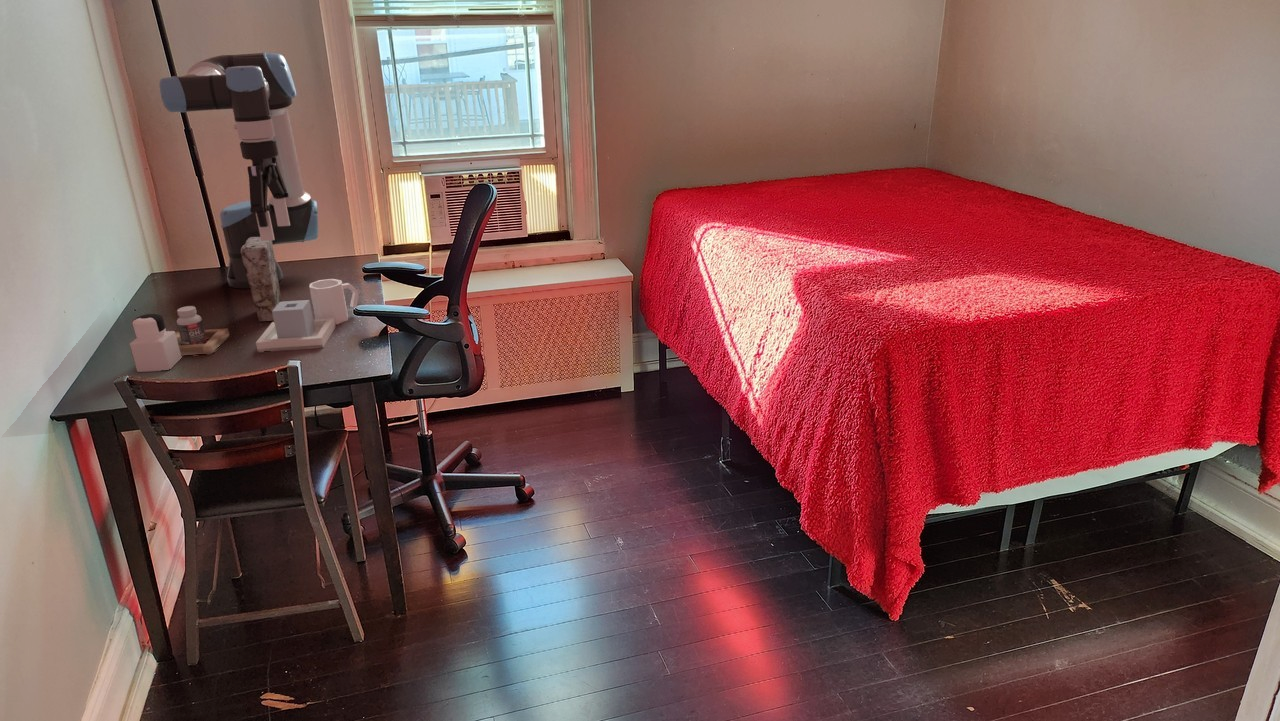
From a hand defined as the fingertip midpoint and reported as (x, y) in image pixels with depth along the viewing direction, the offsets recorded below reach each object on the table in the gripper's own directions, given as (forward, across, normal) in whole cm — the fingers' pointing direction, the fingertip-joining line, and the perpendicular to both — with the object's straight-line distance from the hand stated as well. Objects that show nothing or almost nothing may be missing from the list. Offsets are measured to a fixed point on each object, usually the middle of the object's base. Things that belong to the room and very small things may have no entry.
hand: (276, 232), depth 195 cm
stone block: (+27, -21, -12) cm, 36 cm away
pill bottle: (+27, 0, -24) cm, 36 cm away
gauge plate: (+27, 0, -24) cm, 36 cm away
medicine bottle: (+27, +11, -28) cm, 40 cm away
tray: (+27, 0, 0) cm, 27 cm away
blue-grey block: (+26, 0, 0) cm, 26 cm away
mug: (+27, -14, +7) cm, 31 cm away
